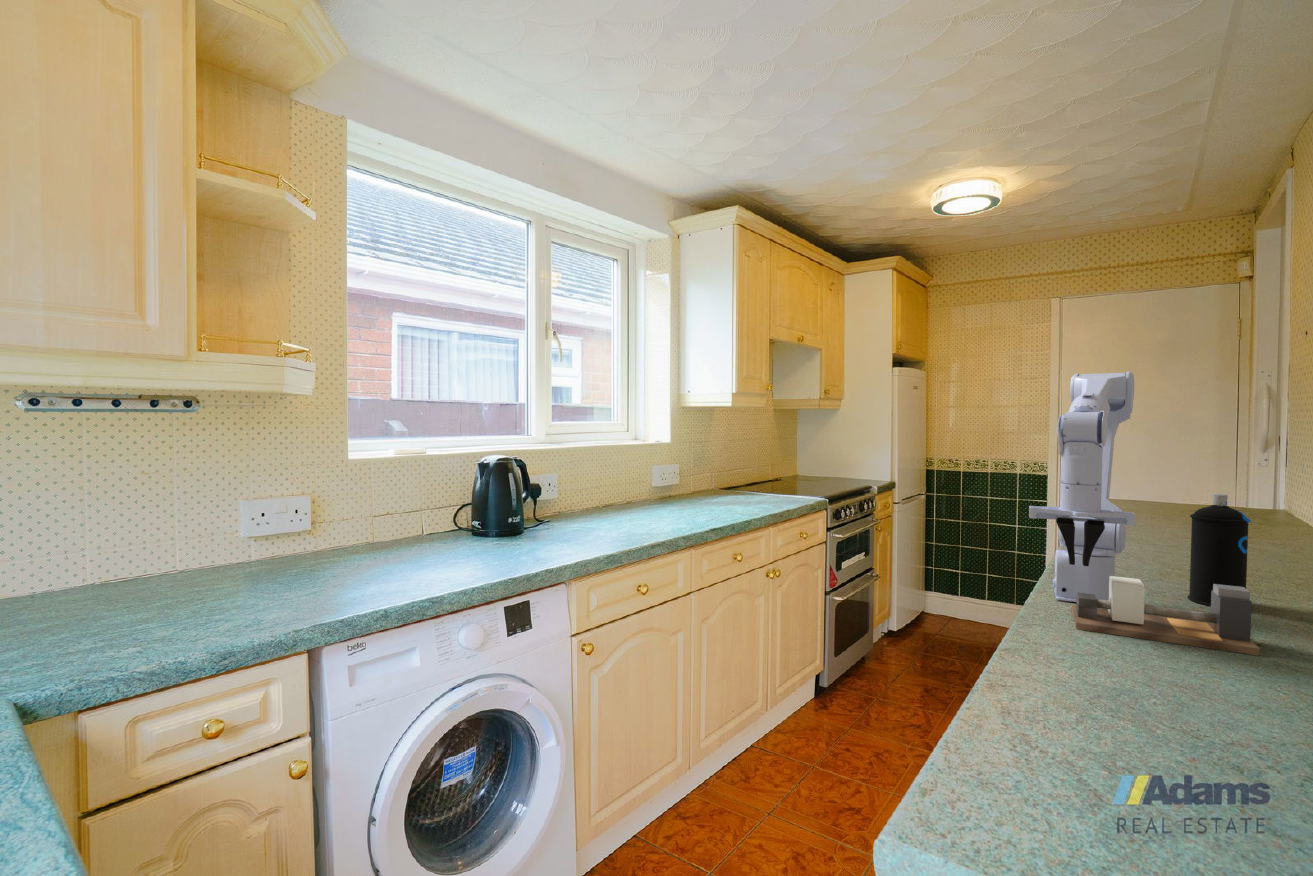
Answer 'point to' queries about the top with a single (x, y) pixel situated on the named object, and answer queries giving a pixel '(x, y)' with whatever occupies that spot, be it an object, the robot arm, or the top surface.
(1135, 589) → the sleeve
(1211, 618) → the rail board
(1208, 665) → the top surface
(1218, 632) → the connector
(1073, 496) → the robot arm
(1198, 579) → the aerosol can
